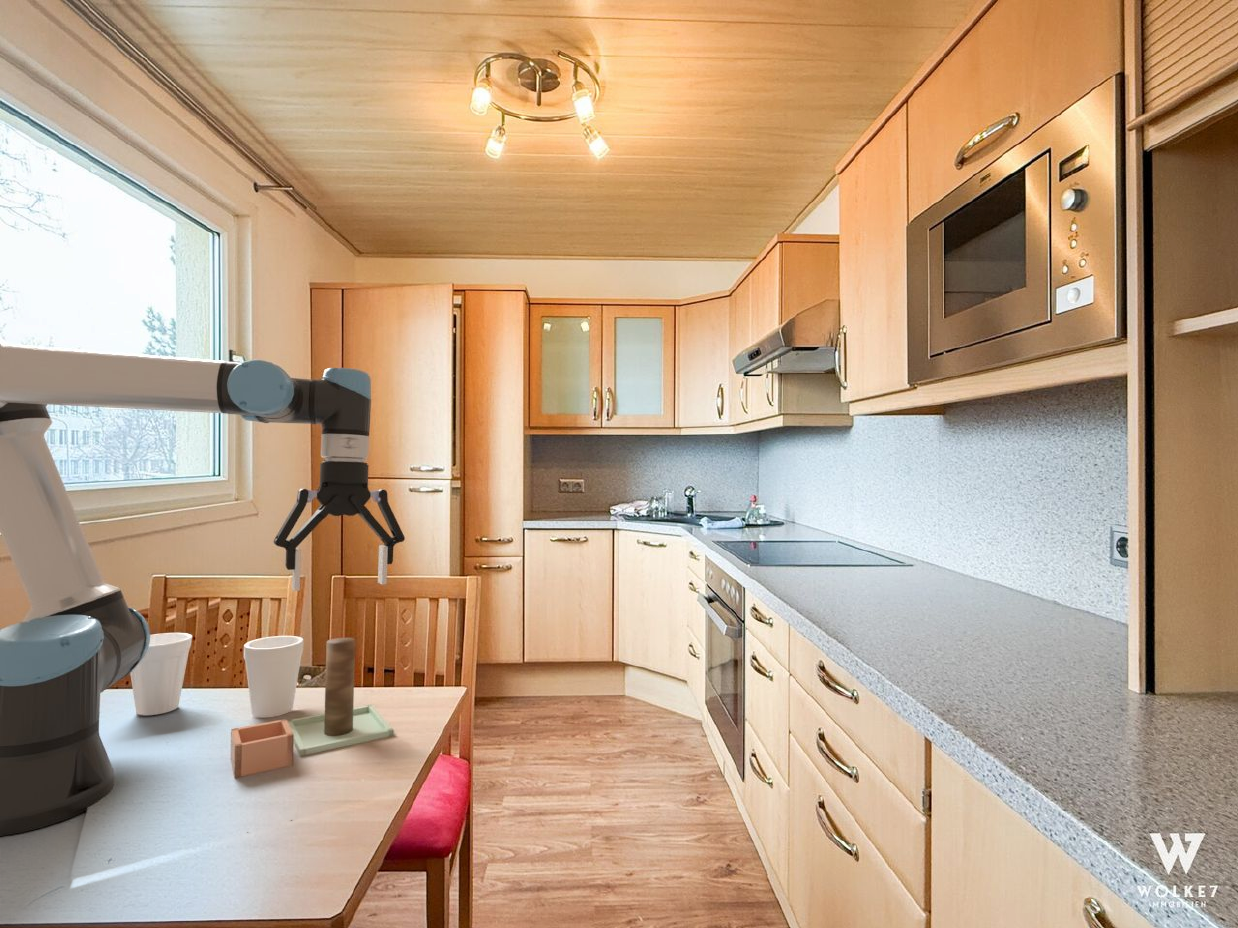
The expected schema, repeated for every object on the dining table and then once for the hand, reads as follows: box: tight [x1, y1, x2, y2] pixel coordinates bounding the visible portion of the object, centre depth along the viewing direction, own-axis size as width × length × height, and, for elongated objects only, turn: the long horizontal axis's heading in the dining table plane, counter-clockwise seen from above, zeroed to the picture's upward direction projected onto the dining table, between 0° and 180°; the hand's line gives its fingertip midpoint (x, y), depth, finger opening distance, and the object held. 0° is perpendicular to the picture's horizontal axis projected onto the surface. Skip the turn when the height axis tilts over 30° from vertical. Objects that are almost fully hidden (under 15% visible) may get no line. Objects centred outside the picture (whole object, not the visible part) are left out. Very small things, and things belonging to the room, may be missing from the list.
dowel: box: [324, 637, 356, 736], centre depth 106 cm, size 4×4×15 cm
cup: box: [129, 632, 193, 716], centre depth 115 cm, size 10×10×13 cm
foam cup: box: [243, 635, 304, 719], centre depth 115 cm, size 10×9×13 cm
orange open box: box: [230, 718, 294, 779], centre depth 94 cm, size 7×7×5 cm
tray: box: [287, 704, 395, 757], centre depth 106 cm, size 14×14×2 cm
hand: (340, 586), depth 107 cm, fingers open, 13 cm apart
